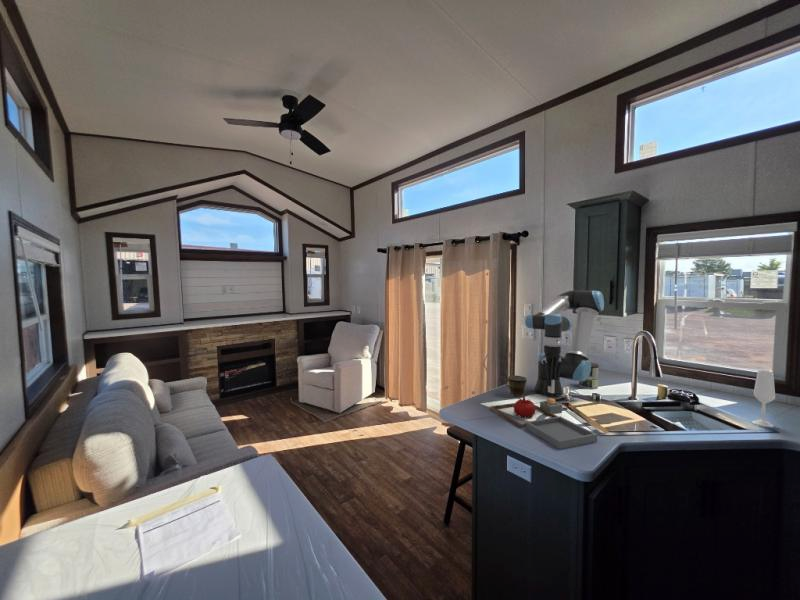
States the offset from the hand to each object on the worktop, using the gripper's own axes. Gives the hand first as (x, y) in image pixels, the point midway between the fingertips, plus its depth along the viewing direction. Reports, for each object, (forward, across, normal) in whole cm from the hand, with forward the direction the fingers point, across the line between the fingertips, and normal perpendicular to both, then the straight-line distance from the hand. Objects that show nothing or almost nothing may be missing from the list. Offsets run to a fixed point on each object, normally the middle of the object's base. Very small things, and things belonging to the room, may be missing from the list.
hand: (551, 392), depth 163 cm
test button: (+8, 0, 0) cm, 8 cm away
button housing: (+10, 0, 0) cm, 10 cm away
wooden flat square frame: (+10, -16, 0) cm, 19 cm away
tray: (+10, -16, -22) cm, 29 cm away
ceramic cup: (+10, -2, +25) cm, 27 cm away
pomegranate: (+10, -16, 0) cm, 19 cm away
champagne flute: (+10, +81, -42) cm, 92 cm away
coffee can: (+10, +52, +24) cm, 58 cm away
